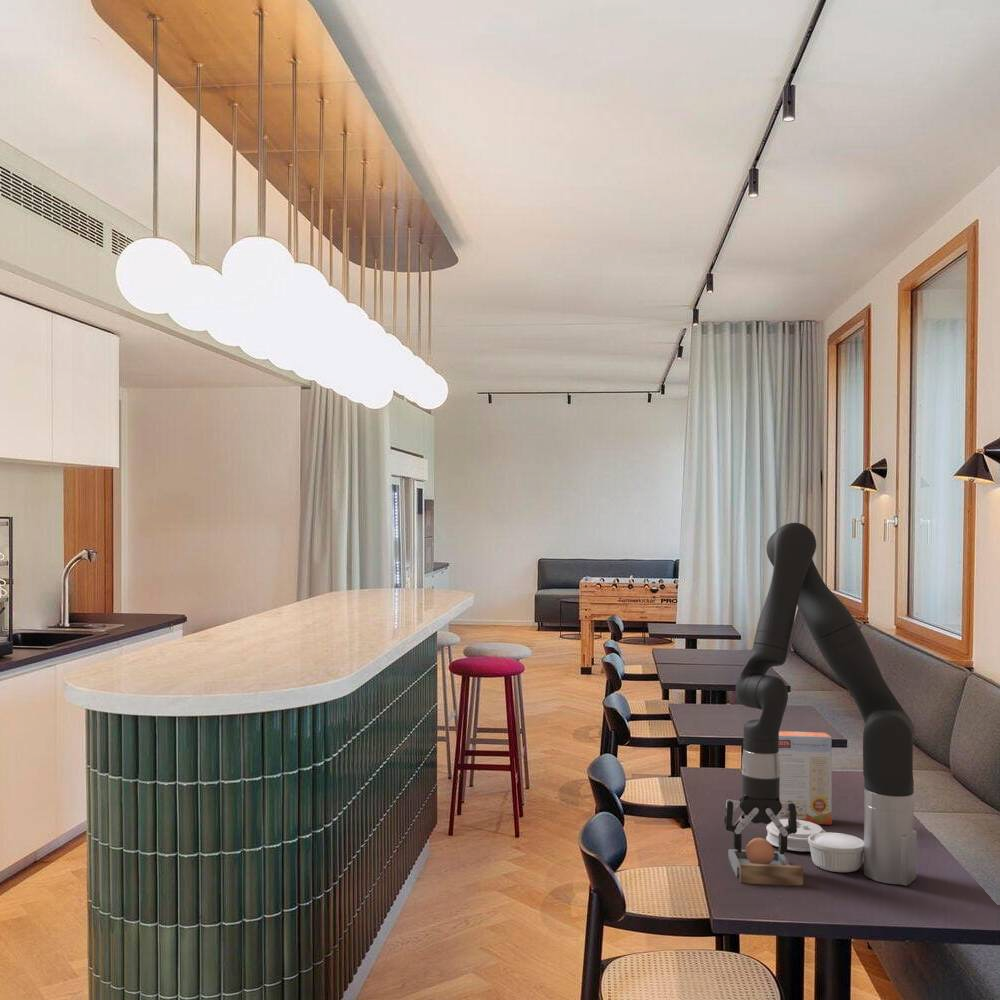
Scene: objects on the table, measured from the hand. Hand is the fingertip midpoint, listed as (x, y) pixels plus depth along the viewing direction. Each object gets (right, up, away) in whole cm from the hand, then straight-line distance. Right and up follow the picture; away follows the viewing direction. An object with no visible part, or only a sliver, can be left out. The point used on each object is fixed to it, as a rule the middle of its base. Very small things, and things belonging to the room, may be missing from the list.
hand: (759, 852), depth 196 cm
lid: (+12, -5, +16) cm, 20 cm away
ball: (0, 0, 0) cm, 0 cm away
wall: (0, -3, -8) cm, 9 cm away
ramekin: (+17, -4, +3) cm, 17 cm away
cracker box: (+19, -5, +34) cm, 39 cm away
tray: (0, -3, 0) cm, 3 cm away
